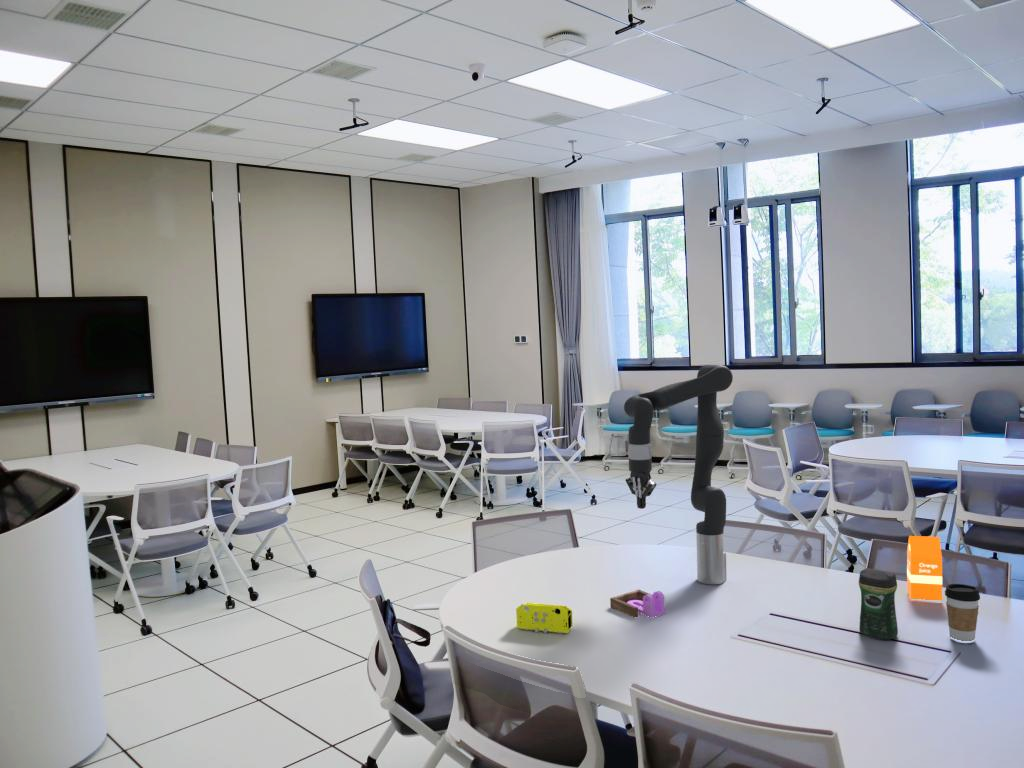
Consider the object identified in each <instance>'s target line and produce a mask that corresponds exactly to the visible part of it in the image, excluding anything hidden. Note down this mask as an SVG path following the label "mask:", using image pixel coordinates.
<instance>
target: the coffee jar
mask: <svg viewBox="0 0 1024 768" xmlns="http://www.w3.org/2000/svg"><path fill="white" fill-rule="evenodd" d="M897 581H898V580H897V575H896V573H895V572H892V571H886V570H879V569H873V568H869V567H865V568H864V569H862V570H861V571H860V572H859V578H858V587H859V588H860V595H861V597H860V598H861V599H860V601H861V602H860V603H861V604H860V614H859V624H858V625H859V627H858V629H859V633H860V634H861V635H863V634H864V635H863V636H866V635H867V636H866V637H869V636H871V637H870V638H873V637H874V639H878V638H879V639H878V640H883V639H884V640H886V641H889V640H893V639H896V637H897V636H898V634H899V633H898V632H899V629H898V620H897V619H898V618H897V611H896V603H895V602H896V601H895V595H896V591H897V589H898V582H897Z"/></svg>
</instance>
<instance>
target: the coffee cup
mask: <svg viewBox="0 0 1024 768" xmlns="http://www.w3.org/2000/svg"><path fill="white" fill-rule="evenodd" d="M944 596H945V597H946V601H945V603H946V604H945V605H946V612H947V621H948V631H949V638H950V637H952V638H954V639H957V640H961V641H972V640H974V639H975V640H976V631H977V625H978V615H979V614H978V613H979V601H980V600H981V595H980V590H979V588H978V587H977V586H975V585H969V584H963V583H950V584H947V585H946V587H945V590H944Z"/></svg>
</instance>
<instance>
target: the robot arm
mask: <svg viewBox="0 0 1024 768" xmlns="http://www.w3.org/2000/svg"><path fill="white" fill-rule="evenodd" d="M733 378H734V377H733V373H732V371H731V369H730V368H728V367H727V366H726V365H722V364H721V365H720V364H704V365H702V366H701V367H700V368H699V369H698V372H697V375H696V377H695V378H693V379H692V378H691V379H689V380H684V381H679V382H675V383H671V384H668V385H665V386H662V387H660V388H657V389H654V390H651V391H649V392H643V393H640V394H635V395H632V396H631V397H629V398H627V399H626V400H625V403H624V405H623V410H624V412H625V414H626V415H627V416H628V417H631V418H633V425H631V426H630V427H629V428H628V448H627V449H628V450H627V451H628V453H627V454H628V456H627V457H628V471H629V472H630V474H629V475H630V476H629V477H628V478H625V482H626V484H627V487H628V488H629V490H630V492H631V494H632V495H635V497H636V506H637V509H640V510H642V509H646V506H647V501H646V500H647V499H646V498H647V497H650V496H651V495H652V493H653V492H654V490H655V488H656V486H657V483H656V482H653V480H652V476H651V471H652V470H653V469H652V468H653V467H652V465H653V464H652V461H653V460H652V447H651V428H652V424H653V419H654V411H662V410H665V409H668V408H670V407H673V406H675V405H678V404H680V403H684V402H686V401H688V400H692V399H694V398H697V417H696V418H697V419H696V423H697V424H696V435H695V436H696V438H695V458H694V471H693V476H692V477H693V478H692V485H691V491H690V501H691V505H692V507H693V508H694V509H695V510H697V511H699V512H703V513H704V520H702V521H699V522H697V523H696V526H695V533H696V534H695V537H696V572H697V574H696V575H697V576H696V577H697V582H699V583H701V584H704V585H721V584H723V583H725V581H726V580H728V579H727V553H726V552H725V539H724V538H725V535H724V534H725V533H724V531H725V530H724V529H725V527H726V523H727V521H726V520H727V498H726V494H725V492H724V490H722V488H718V487H715V486H712V485H711V484H712V473H713V469H714V467H715V465H716V464H717V462H718V460H719V458H720V457H721V455H722V453H723V449H724V441H725V440H724V437H725V435H724V434H725V429H724V426H723V422H722V419H721V416H720V413H719V411H718V407H717V406H718V405H717V404H718V403H717V399H718V398H717V397H718V396H717V393H719V392H723V391H726V390H727V389H729V388H730V386H731V385H732V383H733Z"/></svg>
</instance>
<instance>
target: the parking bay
mask: <svg viewBox="0 0 1024 768" xmlns="http://www.w3.org/2000/svg"><path fill="white" fill-rule="evenodd" d="M647 594H651V593H648V592H646V591H643V590H641V589H636V590H633V591H630V592H626V593H622V594H620V595H619V594H618V595H616V596H613V597H610V599H609V601H610V604H609V605H610V608H612V609H614V610H616V611H618V612H620V613H622V614H625V615H627V614H628V615H627V616H630V617H632V616H633V618H634V617H637V618H638V617H639V613H638V607H635V606H633V605H631V604H628V603H627V602H628V601H630V600H641V601H643V596H644V595H647ZM651 595H652V596H653V593H652V594H651Z"/></svg>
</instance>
